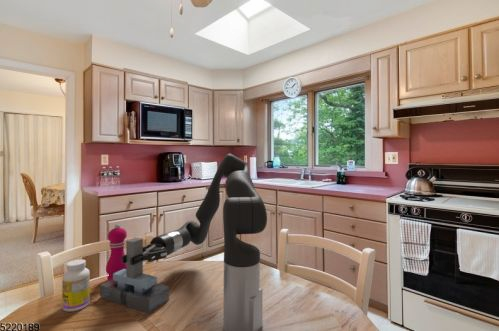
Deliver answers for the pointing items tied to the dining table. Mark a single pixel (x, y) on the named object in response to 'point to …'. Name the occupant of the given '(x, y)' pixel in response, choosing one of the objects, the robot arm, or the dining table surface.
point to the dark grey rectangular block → (135, 296)
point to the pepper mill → (116, 251)
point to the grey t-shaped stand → (134, 270)
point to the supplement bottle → (75, 286)
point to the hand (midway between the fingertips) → (126, 260)
